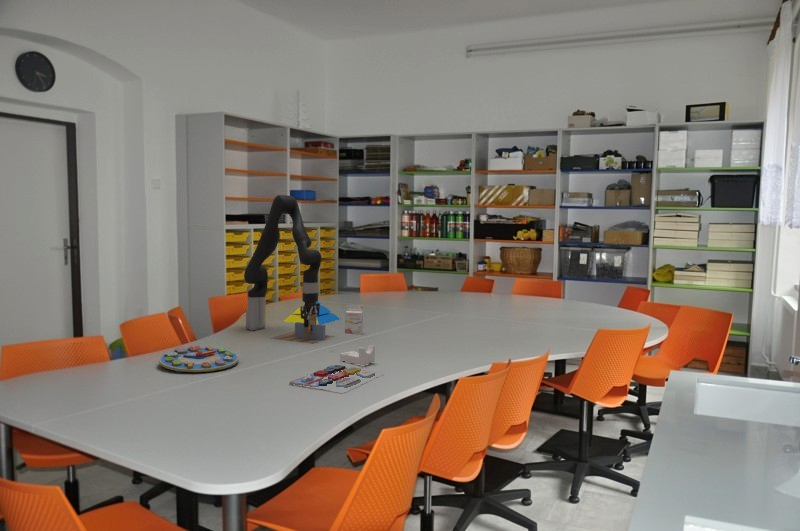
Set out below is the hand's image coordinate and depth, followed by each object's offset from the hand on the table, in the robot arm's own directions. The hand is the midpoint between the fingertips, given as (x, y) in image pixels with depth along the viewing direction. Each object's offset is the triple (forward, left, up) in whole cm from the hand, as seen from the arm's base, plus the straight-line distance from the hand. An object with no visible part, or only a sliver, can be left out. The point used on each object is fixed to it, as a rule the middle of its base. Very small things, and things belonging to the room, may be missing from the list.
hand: (310, 325), depth 311 cm
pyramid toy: (-29, +48, -8) cm, 57 cm away
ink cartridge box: (+11, +24, -7) cm, 27 cm away
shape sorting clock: (-12, -63, -8) cm, 65 cm away
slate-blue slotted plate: (0, 0, -6) cm, 6 cm away
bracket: (+41, -29, -8) cm, 51 cm away
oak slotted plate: (0, 0, -4) cm, 4 cm away
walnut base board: (-4, 0, -7) cm, 8 cm away
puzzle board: (+48, -56, -8) cm, 74 cm away
